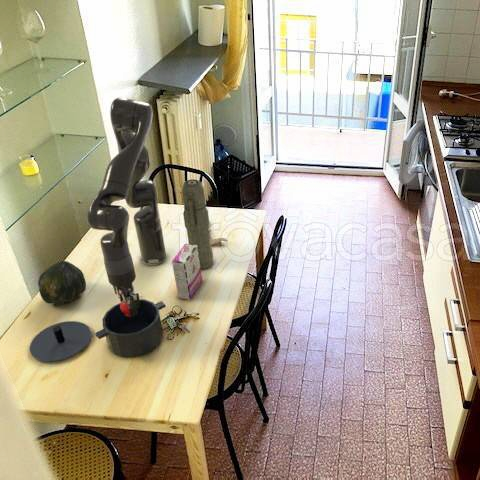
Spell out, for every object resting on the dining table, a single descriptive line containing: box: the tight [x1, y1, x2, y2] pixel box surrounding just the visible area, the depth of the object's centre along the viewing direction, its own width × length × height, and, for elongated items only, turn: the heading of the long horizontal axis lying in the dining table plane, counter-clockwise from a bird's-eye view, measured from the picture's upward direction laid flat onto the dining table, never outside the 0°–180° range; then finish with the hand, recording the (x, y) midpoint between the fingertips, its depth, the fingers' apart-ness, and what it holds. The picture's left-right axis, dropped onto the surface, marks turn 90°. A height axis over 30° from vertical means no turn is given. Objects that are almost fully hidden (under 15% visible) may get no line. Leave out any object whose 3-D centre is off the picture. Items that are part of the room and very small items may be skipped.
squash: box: [37, 260, 87, 306], centre depth 176 cm, size 14×15×15 cm
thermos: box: [181, 178, 214, 271], centre depth 188 cm, size 9×12×35 cm
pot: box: [94, 298, 167, 359], centre depth 160 cm, size 17×22×10 cm
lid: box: [29, 320, 92, 363], centre depth 159 cm, size 18×18×6 cm
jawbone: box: [208, 221, 229, 246], centre depth 214 cm, size 9×20×2 cm, turn 34°
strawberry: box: [120, 297, 131, 317], centre depth 155 cm, size 5×5×6 cm
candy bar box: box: [171, 243, 203, 301], centre depth 180 cm, size 11×5×16 cm, turn 168°
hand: (130, 311), depth 157 cm, fingers closed on strawberry, 5 cm apart
